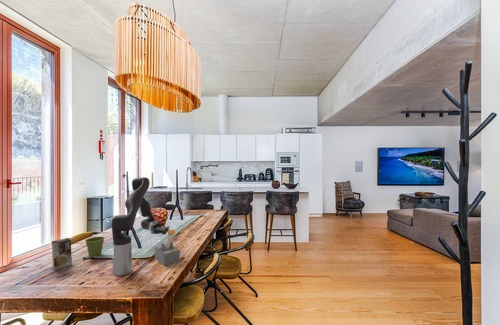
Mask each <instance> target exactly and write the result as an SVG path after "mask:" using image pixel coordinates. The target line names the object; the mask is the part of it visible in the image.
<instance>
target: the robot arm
mask: <svg viewBox="0 0 500 325" xmlns="http://www.w3.org/2000/svg"><path fill="white" fill-rule="evenodd" d="M131 187H132V190H133V191H132V192H131V193H129V194H128V196H127V198H126V199H125V202H124V205H125V206H124V207H125V208H126V210H127V211H128V214H119V215H114V216H113V217H112V220H111V232H112V242H113V256H112V274H114V275H115V276H118V277H119V276H120V277H121V276H126V275H129V274H131V273H132V272H133V257H132V256H133V254H132V237H131V236H130V235H127V234H125V233H123V232H129V231H131V230H132V229H133V228H134V224H135V221H136V218H137V215H138V211H139V210H140V215H141V216H142V217H143V218H144V219H143V220H141V222H140V226H141V228H142V229H143V230H149V231H150V234H154V235H160V234H161V235H167V234H168V231H169V230H170V226H164V224H162V223H161V222H159V221H157V219H156V218H155V216H154V215H153V212H152V209H151V203H150V202H149V201H148V200H147V199H146V198H145V195H146V193H147V192H148V190H149V188H150V179H149V178H148V177H137V178H135V177H134V178H133V179H132V180H131Z"/></svg>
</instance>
